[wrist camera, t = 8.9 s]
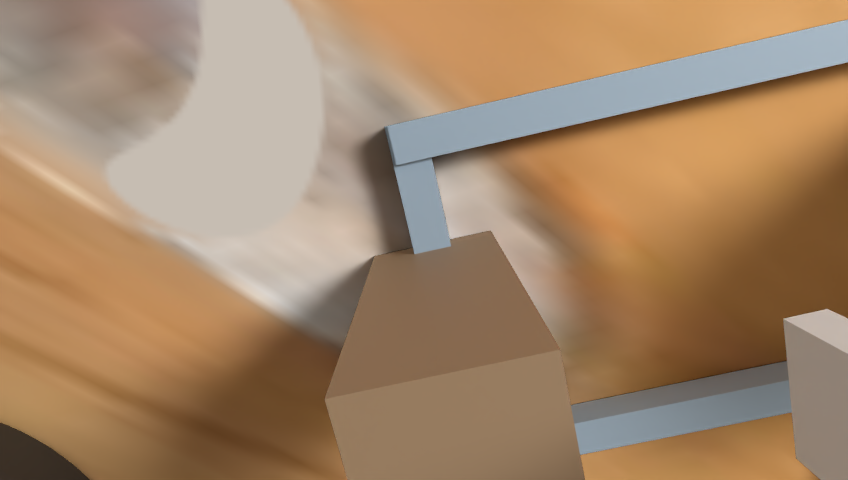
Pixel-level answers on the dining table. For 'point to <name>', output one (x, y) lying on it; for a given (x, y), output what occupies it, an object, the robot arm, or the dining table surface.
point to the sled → (520, 306)
